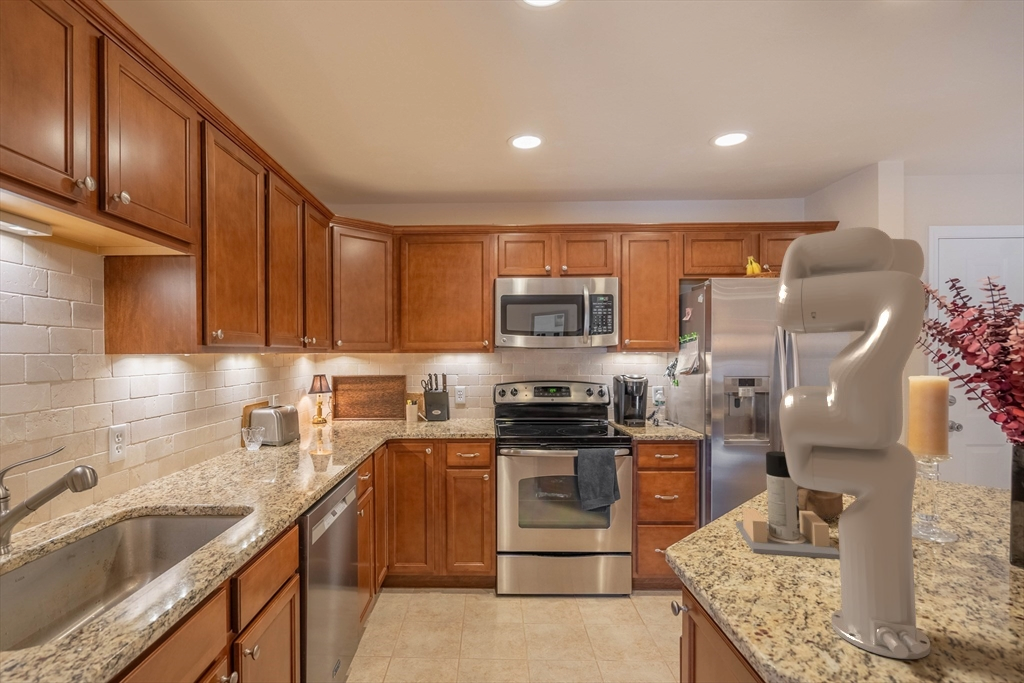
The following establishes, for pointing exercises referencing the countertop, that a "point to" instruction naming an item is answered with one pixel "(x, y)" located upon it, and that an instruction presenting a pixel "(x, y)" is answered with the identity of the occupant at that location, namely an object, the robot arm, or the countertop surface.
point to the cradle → (808, 545)
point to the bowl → (820, 502)
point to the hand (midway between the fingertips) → (872, 396)
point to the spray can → (781, 499)
